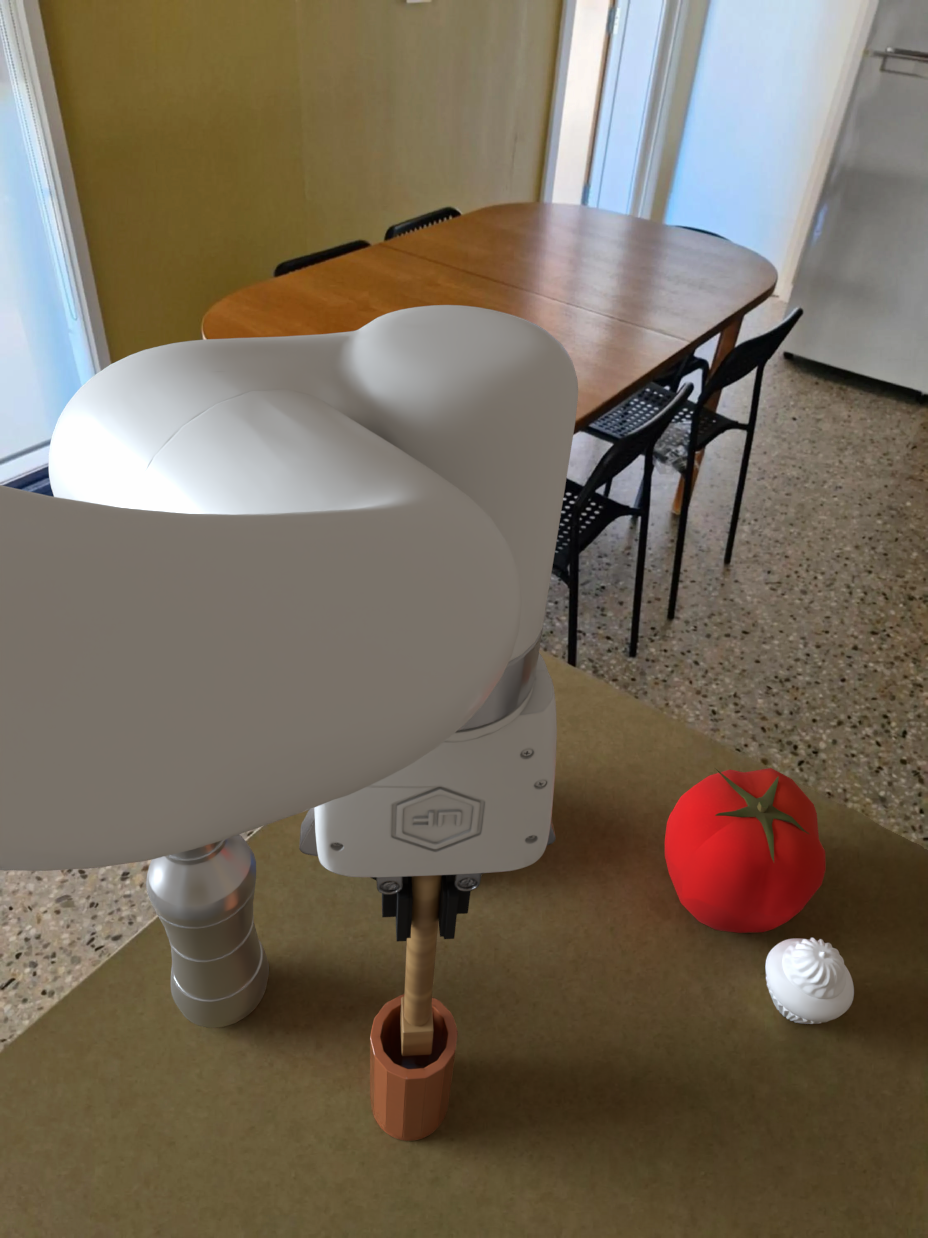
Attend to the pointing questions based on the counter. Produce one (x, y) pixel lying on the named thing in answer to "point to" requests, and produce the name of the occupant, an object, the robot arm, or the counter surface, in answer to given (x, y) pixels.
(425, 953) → the stirring stick
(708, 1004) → the counter surface
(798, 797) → the tomato
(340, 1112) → the counter surface
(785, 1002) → the muffin
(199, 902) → the silver metal bottle
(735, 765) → the counter surface
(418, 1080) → the crock
